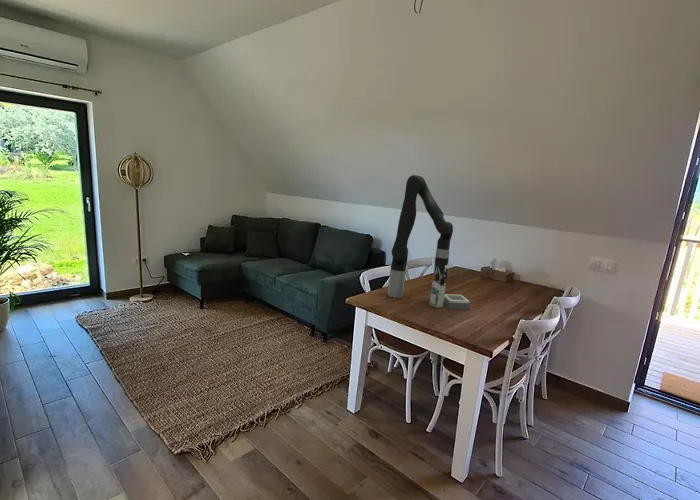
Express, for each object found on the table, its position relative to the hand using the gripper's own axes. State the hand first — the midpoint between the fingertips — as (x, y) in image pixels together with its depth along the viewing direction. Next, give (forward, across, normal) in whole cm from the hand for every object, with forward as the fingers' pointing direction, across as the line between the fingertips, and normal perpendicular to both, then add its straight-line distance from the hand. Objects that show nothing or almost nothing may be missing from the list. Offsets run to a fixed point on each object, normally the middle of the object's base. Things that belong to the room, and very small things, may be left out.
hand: (439, 283), depth 218 cm
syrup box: (+14, 0, 0) cm, 14 cm away
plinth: (+14, -1, +12) cm, 18 cm away
